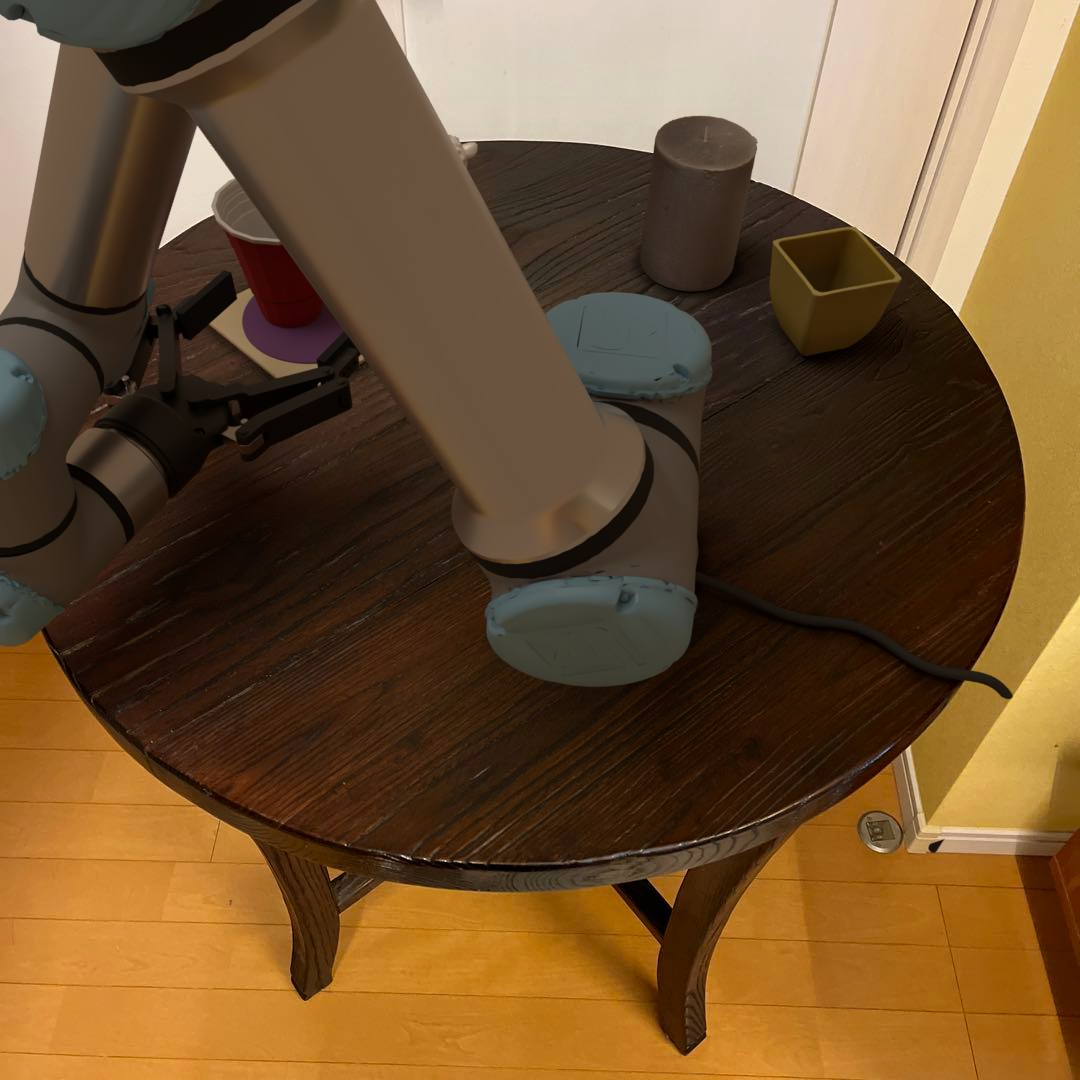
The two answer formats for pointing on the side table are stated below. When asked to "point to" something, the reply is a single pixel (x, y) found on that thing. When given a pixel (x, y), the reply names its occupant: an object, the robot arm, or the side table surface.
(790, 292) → the flower pot
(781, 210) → the side table surface
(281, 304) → the plastic cup
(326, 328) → the place mat
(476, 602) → the side table surface
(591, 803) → the side table surface
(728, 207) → the pillar candle
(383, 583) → the side table surface
